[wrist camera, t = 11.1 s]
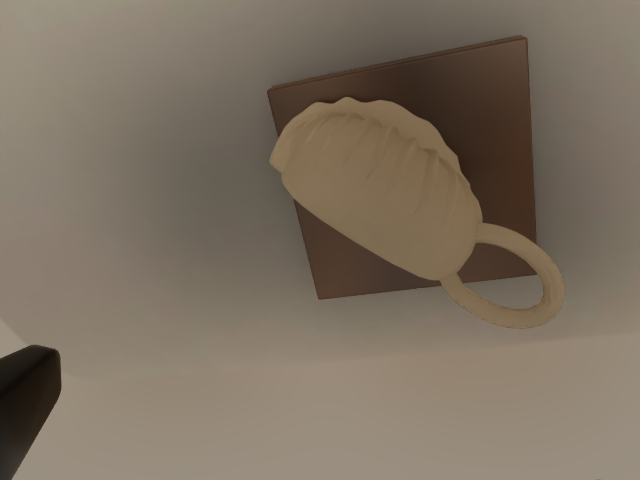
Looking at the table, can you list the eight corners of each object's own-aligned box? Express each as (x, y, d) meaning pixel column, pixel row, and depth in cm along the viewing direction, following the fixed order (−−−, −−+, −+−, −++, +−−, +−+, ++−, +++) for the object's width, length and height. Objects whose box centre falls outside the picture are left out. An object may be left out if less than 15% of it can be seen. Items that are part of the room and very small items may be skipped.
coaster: (321, 289, 21) (318, 300, 20) (271, 86, 17) (266, 90, 17) (532, 264, 19) (538, 275, 18) (521, 34, 16) (527, 36, 15)
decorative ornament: (331, 54, 16) (304, 81, 11) (540, 203, 17) (597, 286, 12) (265, 158, 18) (217, 221, 13) (459, 287, 19) (481, 389, 14)
